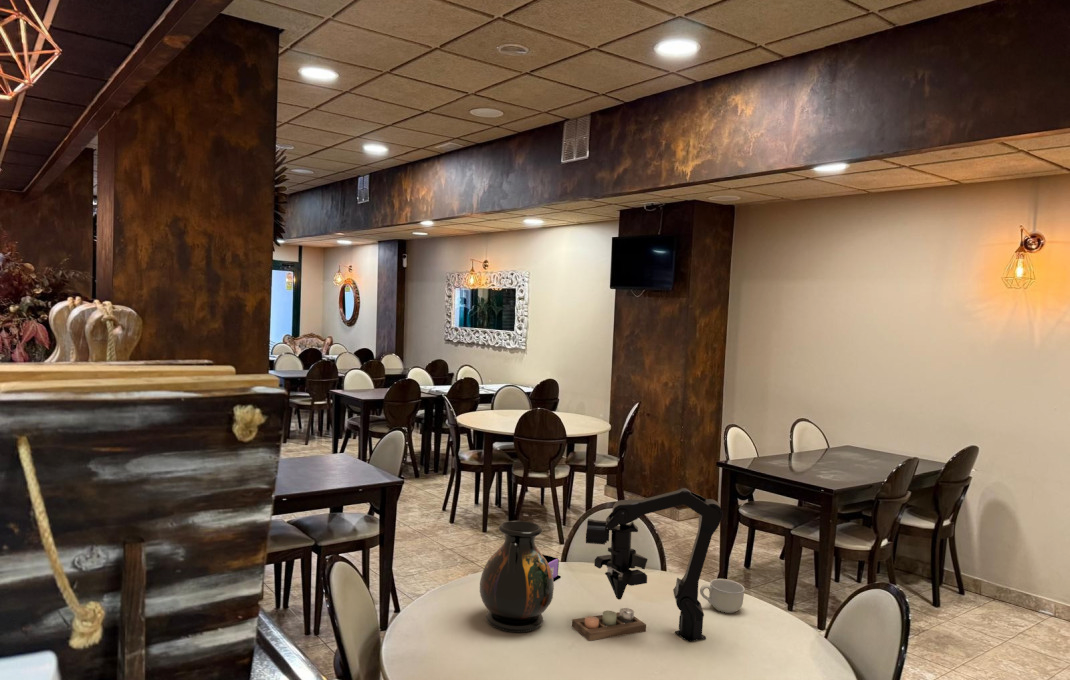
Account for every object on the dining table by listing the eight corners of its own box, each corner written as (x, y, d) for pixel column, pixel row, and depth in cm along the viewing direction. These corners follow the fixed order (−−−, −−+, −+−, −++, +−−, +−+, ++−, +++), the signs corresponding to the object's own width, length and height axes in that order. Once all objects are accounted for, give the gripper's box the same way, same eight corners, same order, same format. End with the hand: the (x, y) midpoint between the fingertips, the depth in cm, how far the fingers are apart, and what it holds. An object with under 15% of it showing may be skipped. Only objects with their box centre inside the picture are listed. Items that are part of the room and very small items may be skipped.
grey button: (635, 622, 206) (636, 612, 206) (624, 624, 204) (625, 614, 204) (627, 617, 210) (628, 607, 210) (616, 619, 208) (617, 609, 208)
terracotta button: (600, 631, 201) (601, 621, 201) (588, 633, 199) (589, 622, 199) (593, 625, 204) (594, 615, 204) (581, 627, 202) (582, 617, 202)
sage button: (618, 625, 203) (619, 615, 203) (607, 627, 202) (607, 616, 202) (611, 620, 207) (611, 609, 207) (599, 621, 205) (600, 611, 205)
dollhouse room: (562, 577, 245) (563, 558, 245) (544, 587, 235) (545, 567, 234) (532, 570, 251) (533, 550, 251) (514, 579, 241) (515, 559, 241)
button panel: (645, 631, 204) (646, 624, 204) (589, 640, 196) (590, 633, 196) (626, 617, 213) (626, 611, 213) (571, 626, 204) (572, 619, 204)
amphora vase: (544, 643, 192) (550, 541, 192) (468, 631, 196) (474, 531, 196) (557, 613, 213) (563, 521, 213) (488, 603, 218) (494, 512, 217)
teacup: (739, 604, 230) (741, 580, 230) (746, 618, 219) (748, 592, 219) (696, 600, 231) (697, 576, 231) (700, 613, 220) (702, 588, 220)
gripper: (663, 551, 201) (661, 606, 201) (624, 533, 217) (622, 584, 217) (631, 556, 195) (629, 612, 196) (594, 537, 212) (592, 589, 212)
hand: (619, 599), depth 205 cm, fingers closed
